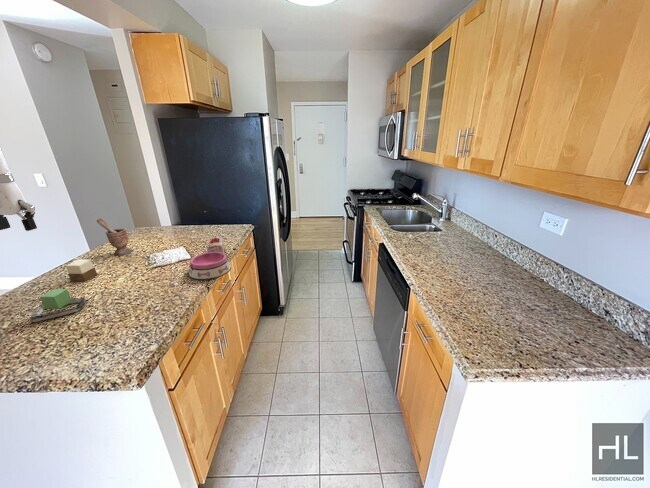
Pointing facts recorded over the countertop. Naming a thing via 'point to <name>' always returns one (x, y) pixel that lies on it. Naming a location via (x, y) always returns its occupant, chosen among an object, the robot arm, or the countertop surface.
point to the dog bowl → (209, 266)
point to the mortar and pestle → (116, 238)
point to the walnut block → (83, 276)
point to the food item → (216, 245)
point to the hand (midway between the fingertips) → (18, 229)
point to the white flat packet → (169, 256)
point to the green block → (55, 298)
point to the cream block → (79, 266)
